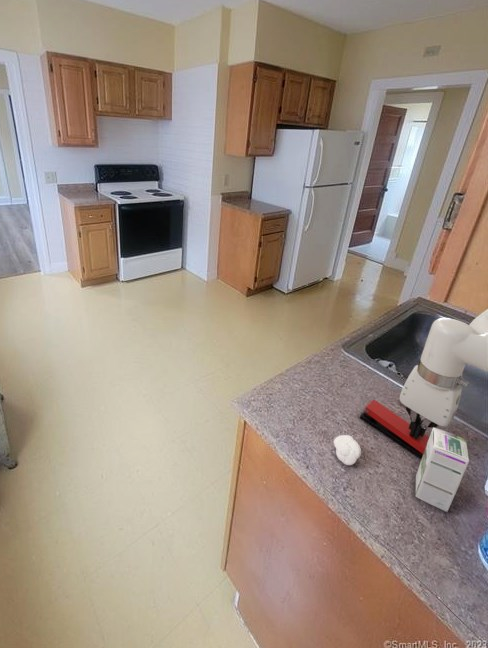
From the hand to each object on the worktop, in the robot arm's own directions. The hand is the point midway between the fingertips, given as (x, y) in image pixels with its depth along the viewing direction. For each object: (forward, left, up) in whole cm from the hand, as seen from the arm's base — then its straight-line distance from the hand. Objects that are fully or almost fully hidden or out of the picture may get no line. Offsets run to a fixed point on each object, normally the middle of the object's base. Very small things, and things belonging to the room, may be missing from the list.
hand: (415, 434), depth 77 cm
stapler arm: (+4, 0, -2) cm, 4 cm away
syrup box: (-7, +9, -4) cm, 13 cm away
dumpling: (+8, +16, -4) cm, 18 cm away
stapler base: (+4, 0, -4) cm, 5 cm away
